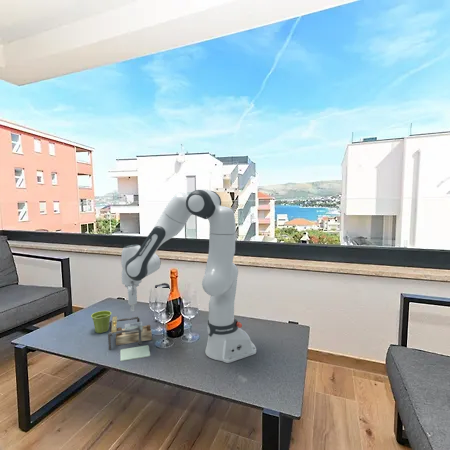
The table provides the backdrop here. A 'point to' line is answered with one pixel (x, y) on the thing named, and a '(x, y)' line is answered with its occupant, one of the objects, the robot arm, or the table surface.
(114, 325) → the brass bolt
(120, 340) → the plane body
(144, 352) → the sage mat
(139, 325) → the grey block with handle
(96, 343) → the table surface
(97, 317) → the plant pot
